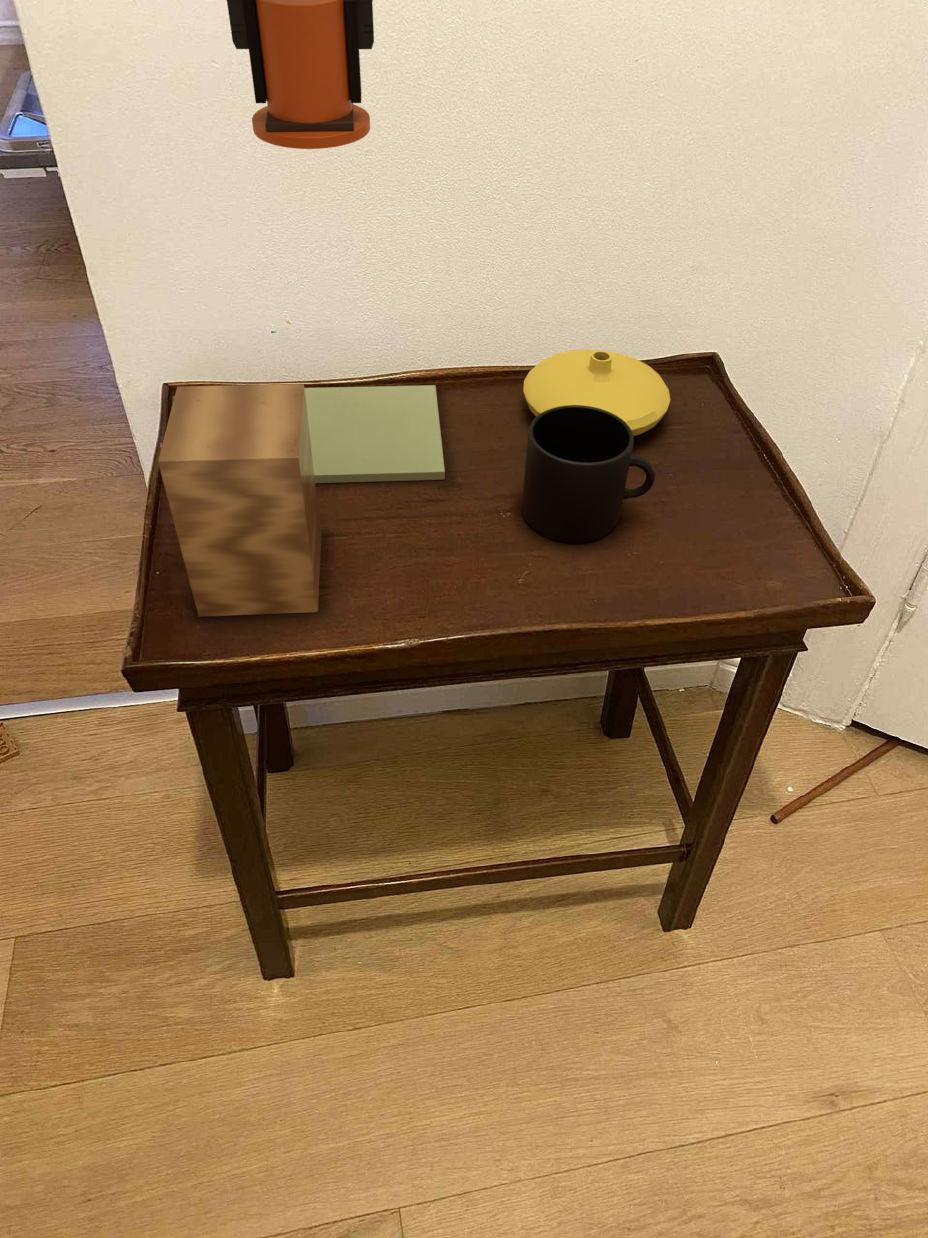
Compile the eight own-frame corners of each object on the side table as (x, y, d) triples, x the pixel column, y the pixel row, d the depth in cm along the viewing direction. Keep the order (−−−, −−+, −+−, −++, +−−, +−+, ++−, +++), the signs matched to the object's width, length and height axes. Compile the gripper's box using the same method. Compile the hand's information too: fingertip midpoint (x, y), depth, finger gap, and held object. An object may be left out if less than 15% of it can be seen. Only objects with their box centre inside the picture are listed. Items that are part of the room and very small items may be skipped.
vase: (679, 455, 95) (693, 396, 90) (529, 457, 94) (534, 398, 89) (649, 375, 106) (660, 318, 101) (514, 376, 105) (518, 319, 100)
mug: (647, 551, 84) (665, 471, 78) (518, 539, 85) (525, 459, 78) (644, 489, 91) (661, 411, 84) (524, 478, 91) (531, 400, 85)
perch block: (198, 617, 77) (157, 461, 65) (211, 539, 84) (177, 386, 72) (318, 612, 78) (298, 457, 66) (321, 535, 85) (304, 383, 73)
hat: (249, 149, 67) (230, 9, 61) (256, 109, 73) (239, -22, 67) (371, 148, 68) (365, 9, 62) (368, 108, 74) (362, -22, 68)
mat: (262, 484, 90) (260, 476, 89) (272, 396, 101) (271, 388, 100) (444, 479, 91) (444, 471, 90) (435, 392, 102) (435, 384, 101)
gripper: (83, -352, 49) (172, 113, 66) (439, -341, 51) (439, 113, 67) (110, -349, 55) (186, 81, 71) (433, -339, 56) (434, 81, 72)
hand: (309, 96), depth 69 cm, fingers closed on hat, 6 cm apart
